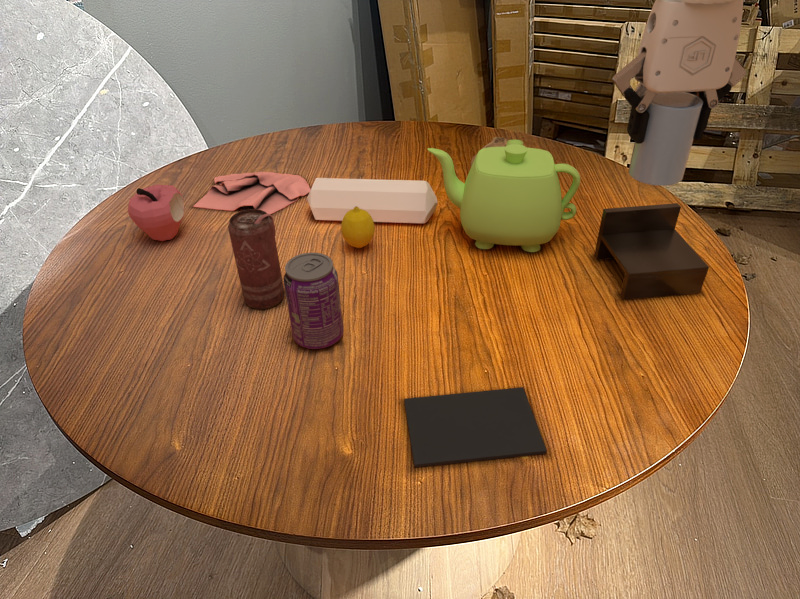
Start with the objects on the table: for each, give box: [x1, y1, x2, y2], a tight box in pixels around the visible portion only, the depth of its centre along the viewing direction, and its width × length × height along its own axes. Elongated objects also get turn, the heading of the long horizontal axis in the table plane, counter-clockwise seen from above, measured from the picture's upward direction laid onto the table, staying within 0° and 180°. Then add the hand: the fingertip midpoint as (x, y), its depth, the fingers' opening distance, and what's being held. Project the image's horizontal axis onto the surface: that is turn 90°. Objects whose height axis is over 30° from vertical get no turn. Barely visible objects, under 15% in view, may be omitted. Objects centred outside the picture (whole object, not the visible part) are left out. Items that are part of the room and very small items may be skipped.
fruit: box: [340, 206, 376, 249], centre depth 102 cm, size 6×6×8 cm
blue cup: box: [628, 92, 703, 187], centre depth 79 cm, size 7×7×10 cm
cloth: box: [192, 171, 311, 215], centre depth 121 cm, size 20×22×2 cm
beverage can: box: [282, 252, 344, 350], centre depth 83 cm, size 7×7×12 cm
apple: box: [127, 183, 185, 242], centre depth 106 cm, size 10×9×10 cm
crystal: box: [306, 177, 439, 224], centre depth 112 cm, size 7×7×24 cm
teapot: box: [427, 139, 581, 253], centre depth 105 cm, size 25×22×16 cm
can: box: [227, 209, 286, 310], centre depth 90 cm, size 6×6×14 cm
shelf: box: [593, 202, 710, 301], centre depth 94 cm, size 12×12×9 cm
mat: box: [403, 386, 548, 469], centre depth 73 cm, size 15×10×1 cm, turn 96°
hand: (664, 136), depth 78 cm, fingers closed on blue cup, 6 cm apart
